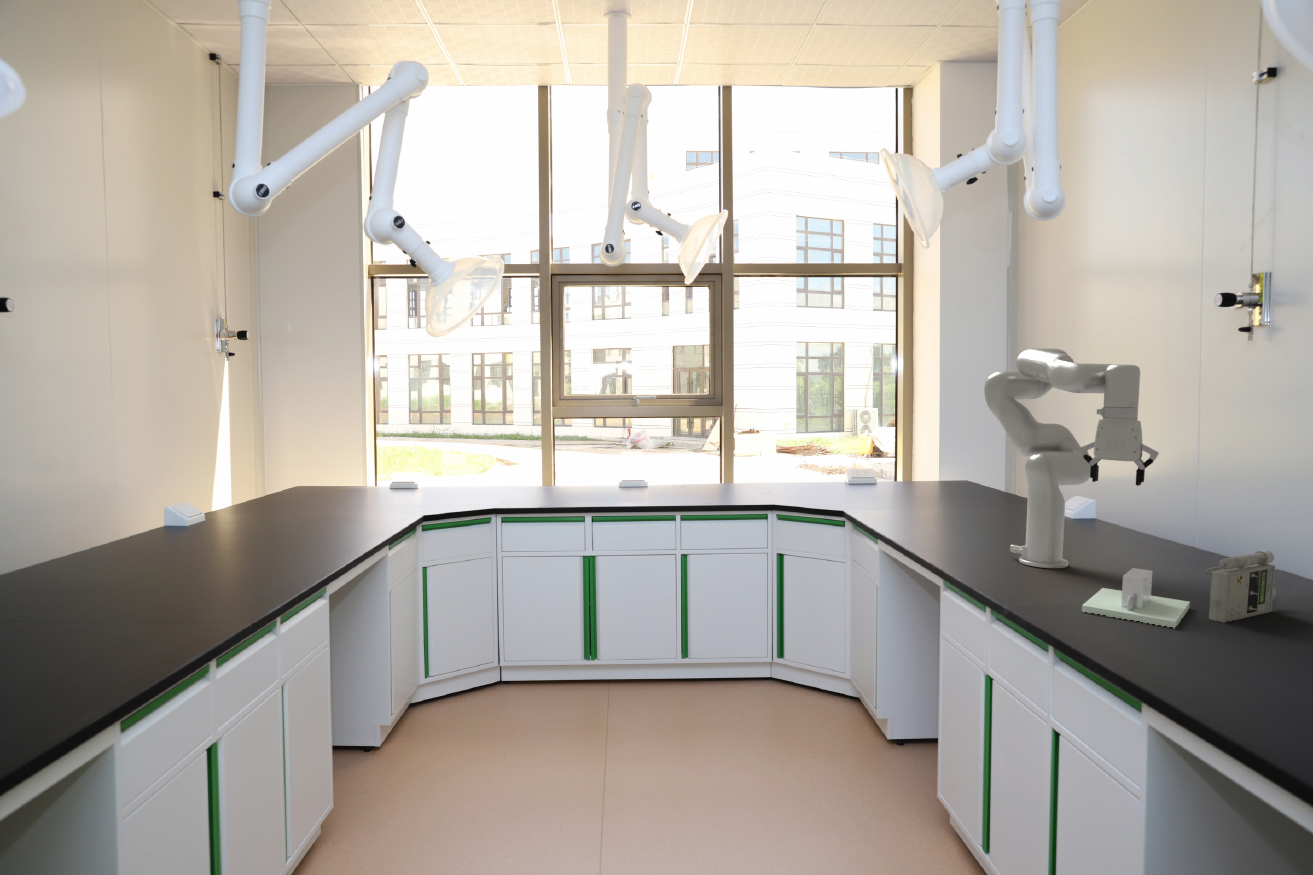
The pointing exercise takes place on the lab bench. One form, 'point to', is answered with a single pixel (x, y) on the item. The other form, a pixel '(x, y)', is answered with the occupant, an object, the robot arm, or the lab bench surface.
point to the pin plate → (1152, 613)
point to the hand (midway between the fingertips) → (1116, 483)
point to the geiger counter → (1242, 587)
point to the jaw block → (1137, 587)
